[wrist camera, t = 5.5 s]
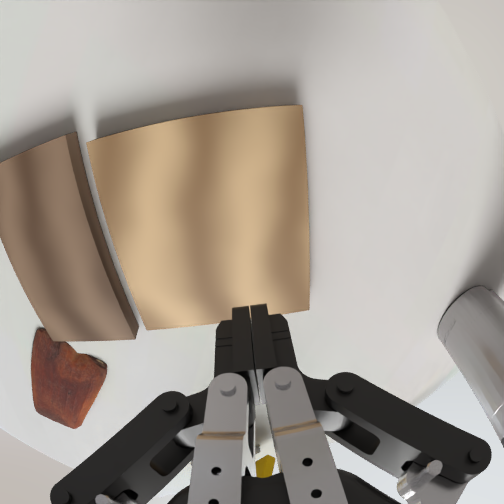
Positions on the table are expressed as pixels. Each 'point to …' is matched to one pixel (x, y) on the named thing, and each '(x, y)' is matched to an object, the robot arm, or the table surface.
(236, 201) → the light wood board
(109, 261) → the walnut board
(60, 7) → the table surface
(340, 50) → the table surface
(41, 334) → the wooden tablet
